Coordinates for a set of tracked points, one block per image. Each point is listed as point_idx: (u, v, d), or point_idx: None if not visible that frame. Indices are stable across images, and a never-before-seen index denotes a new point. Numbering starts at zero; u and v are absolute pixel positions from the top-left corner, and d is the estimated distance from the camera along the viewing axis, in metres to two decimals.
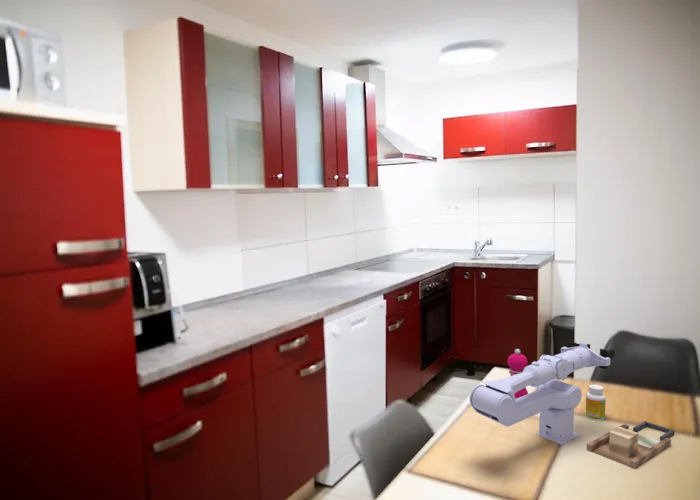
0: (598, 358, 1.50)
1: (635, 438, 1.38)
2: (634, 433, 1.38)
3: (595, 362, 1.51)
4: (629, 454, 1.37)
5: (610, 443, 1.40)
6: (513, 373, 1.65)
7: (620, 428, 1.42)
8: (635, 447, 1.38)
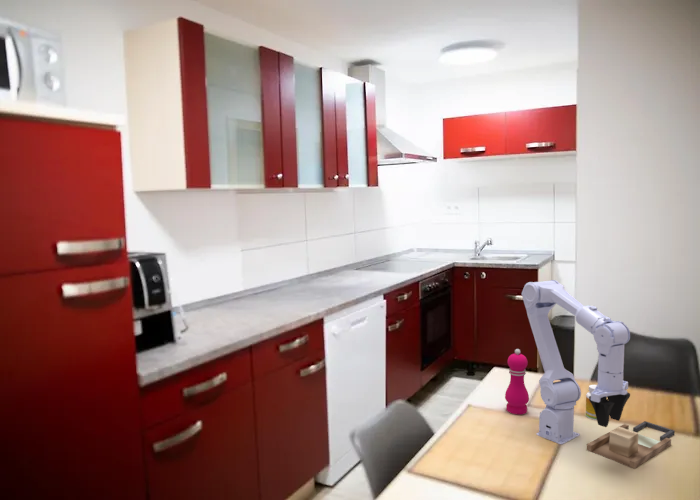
0: (602, 393, 1.30)
1: (635, 438, 1.38)
2: (634, 433, 1.38)
3: None
4: (629, 454, 1.37)
5: (610, 443, 1.40)
6: (513, 373, 1.65)
7: (620, 428, 1.42)
8: (635, 447, 1.38)
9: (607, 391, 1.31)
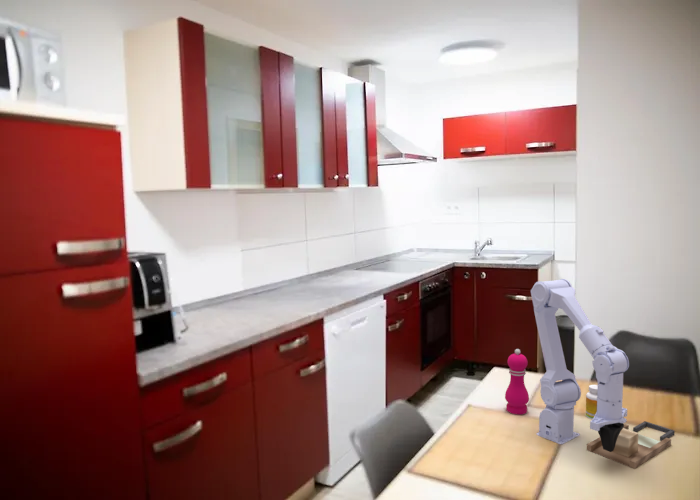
0: (601, 421, 1.31)
1: (635, 438, 1.38)
2: (634, 433, 1.38)
3: None
4: (629, 454, 1.37)
5: None
6: (513, 373, 1.65)
7: None
8: (635, 447, 1.38)
9: (606, 419, 1.32)
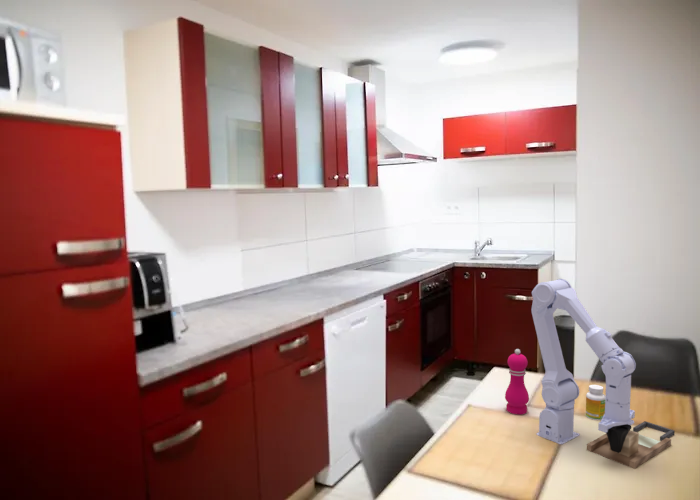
0: (609, 423, 1.33)
1: (635, 438, 1.38)
2: (634, 433, 1.39)
3: (606, 421, 1.35)
4: (629, 454, 1.37)
5: None
6: (513, 373, 1.65)
7: None
8: (635, 447, 1.38)
9: (614, 421, 1.34)
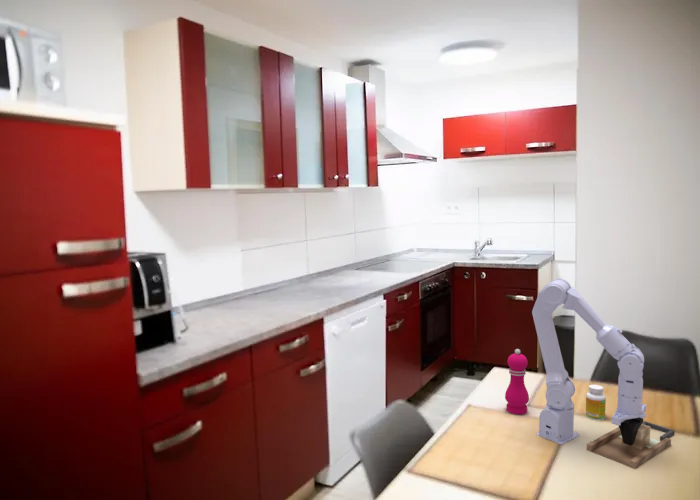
0: (622, 416, 1.37)
1: (647, 431, 1.42)
2: (646, 427, 1.42)
3: None
4: (641, 447, 1.40)
5: None
6: (513, 373, 1.65)
7: None
8: (647, 440, 1.42)
9: (627, 414, 1.38)
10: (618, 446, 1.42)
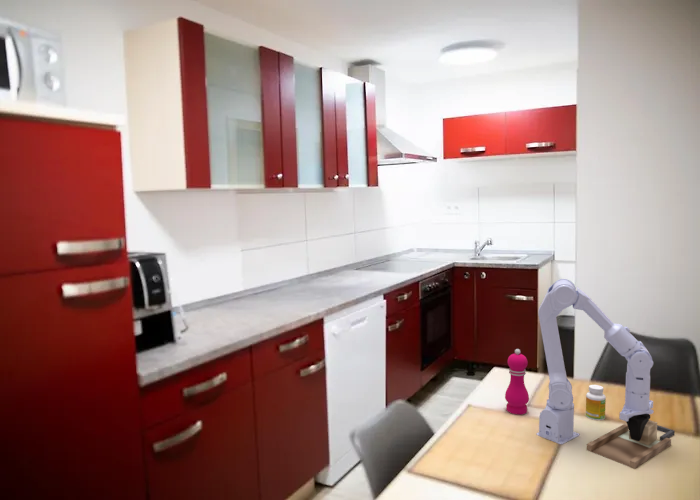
0: (630, 412, 1.39)
1: (654, 427, 1.44)
2: (653, 423, 1.45)
3: None
4: (648, 442, 1.43)
5: None
6: (513, 373, 1.65)
7: None
8: (654, 436, 1.45)
9: (634, 410, 1.40)
10: (618, 446, 1.42)
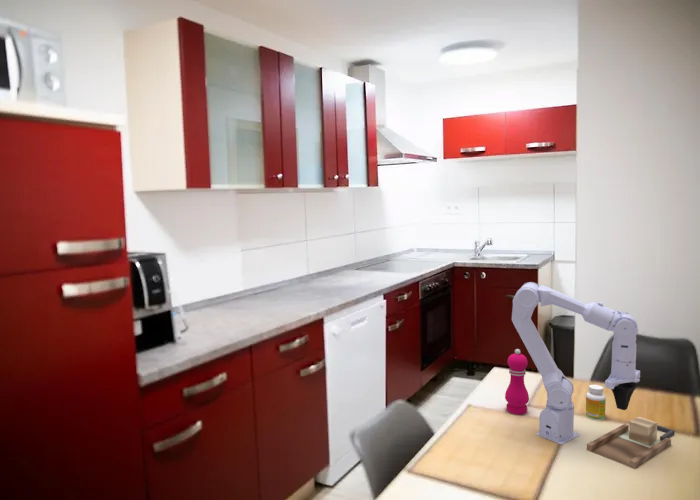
0: (616, 380, 1.38)
1: (654, 427, 1.44)
2: (653, 423, 1.45)
3: (613, 379, 1.40)
4: (648, 442, 1.43)
5: (630, 432, 1.46)
6: (513, 373, 1.65)
7: (640, 417, 1.48)
8: (654, 436, 1.45)
9: (620, 379, 1.39)
10: (618, 446, 1.42)
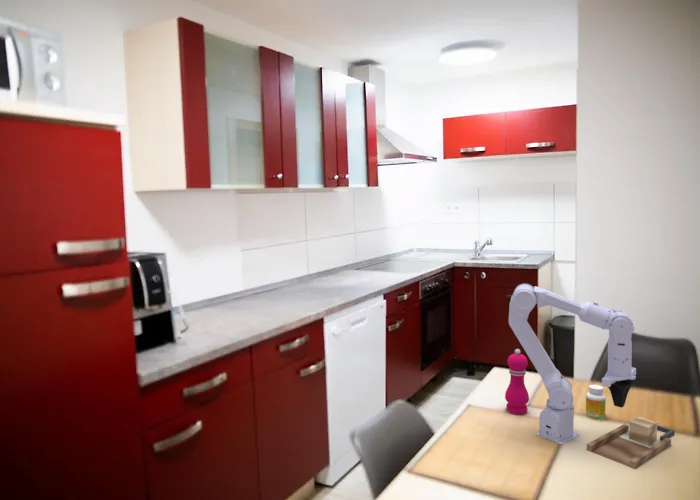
0: (612, 378, 1.40)
1: (654, 427, 1.44)
2: (653, 423, 1.45)
3: (609, 377, 1.42)
4: (648, 442, 1.43)
5: (630, 432, 1.46)
6: (513, 373, 1.65)
7: (640, 417, 1.48)
8: (654, 436, 1.45)
9: (617, 376, 1.41)
10: (618, 446, 1.42)
